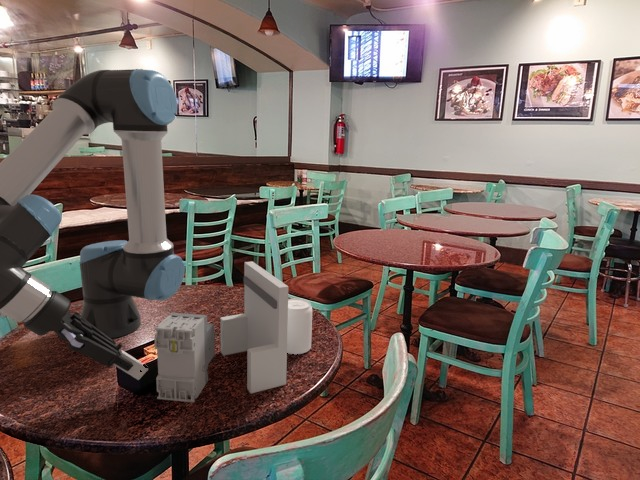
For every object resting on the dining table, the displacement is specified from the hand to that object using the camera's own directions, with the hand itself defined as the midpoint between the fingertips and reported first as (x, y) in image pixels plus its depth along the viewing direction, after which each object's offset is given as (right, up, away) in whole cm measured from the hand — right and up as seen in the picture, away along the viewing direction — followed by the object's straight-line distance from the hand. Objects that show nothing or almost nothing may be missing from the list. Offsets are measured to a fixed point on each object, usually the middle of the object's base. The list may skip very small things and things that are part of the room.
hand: (142, 373), depth 90 cm
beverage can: (+29, -1, +22) cm, 37 cm away
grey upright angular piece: (+20, -2, +13) cm, 24 cm away
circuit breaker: (+8, -4, +6) cm, 10 cm away
